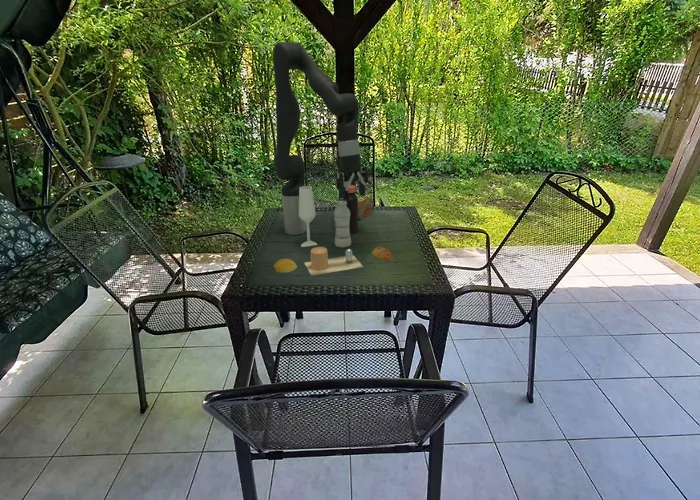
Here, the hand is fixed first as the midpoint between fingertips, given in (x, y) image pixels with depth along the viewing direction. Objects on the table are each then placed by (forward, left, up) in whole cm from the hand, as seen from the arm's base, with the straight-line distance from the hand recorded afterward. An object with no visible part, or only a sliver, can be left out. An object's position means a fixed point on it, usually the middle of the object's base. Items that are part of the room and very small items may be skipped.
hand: (354, 198), depth 156 cm
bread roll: (+5, -28, -23) cm, 37 cm away
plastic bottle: (-7, -3, -23) cm, 24 cm away
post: (+9, -6, -21) cm, 24 cm away
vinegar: (-24, +6, -23) cm, 34 cm away
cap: (+9, -17, -21) cm, 28 cm away
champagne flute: (-15, -15, -23) cm, 31 cm away
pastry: (+8, +8, -23) cm, 26 cm away
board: (+9, -12, -22) cm, 27 cm away
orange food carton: (-40, +18, -23) cm, 50 cm away
